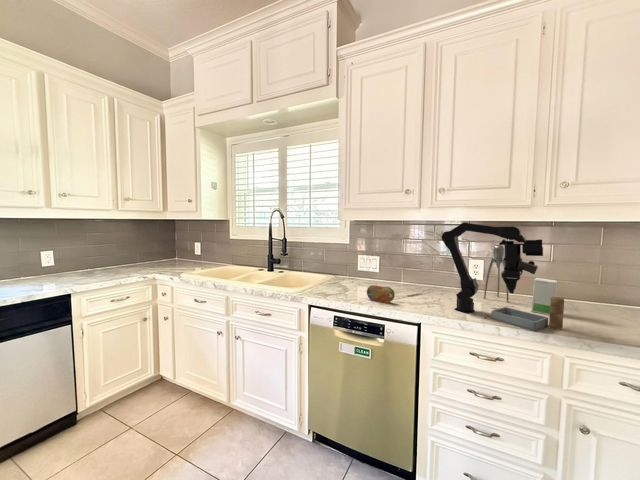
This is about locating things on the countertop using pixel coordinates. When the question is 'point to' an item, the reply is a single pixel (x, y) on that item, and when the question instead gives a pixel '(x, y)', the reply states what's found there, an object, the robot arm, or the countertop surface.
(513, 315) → the tray
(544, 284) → the skincare box
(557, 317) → the brown block
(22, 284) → the countertop surface
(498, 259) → the juicer
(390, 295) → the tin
